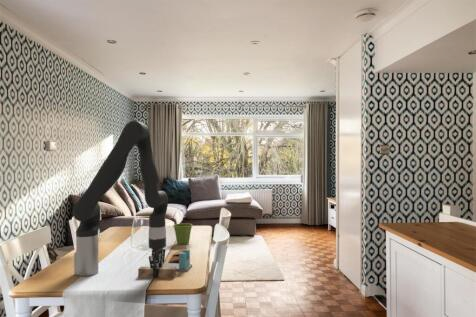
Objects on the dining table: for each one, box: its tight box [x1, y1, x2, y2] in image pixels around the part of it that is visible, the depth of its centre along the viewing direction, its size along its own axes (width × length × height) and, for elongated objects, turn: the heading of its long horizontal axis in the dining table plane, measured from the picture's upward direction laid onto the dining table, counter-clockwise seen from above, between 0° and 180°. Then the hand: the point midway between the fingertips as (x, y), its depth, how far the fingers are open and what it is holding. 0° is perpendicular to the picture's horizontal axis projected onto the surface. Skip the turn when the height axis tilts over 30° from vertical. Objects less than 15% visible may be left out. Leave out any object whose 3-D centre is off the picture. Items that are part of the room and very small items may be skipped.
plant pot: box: [172, 222, 193, 246], centre depth 220 cm, size 12×12×11 cm
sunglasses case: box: [167, 247, 188, 264], centre depth 186 cm, size 18×7×7 cm
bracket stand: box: [156, 249, 193, 272], centre depth 171 cm, size 18×8×8 cm, turn 81°
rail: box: [137, 266, 177, 279], centre depth 159 cm, size 16×4×4 cm, turn 88°
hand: (157, 275), depth 159 cm, fingers closed on rail, 4 cm apart
